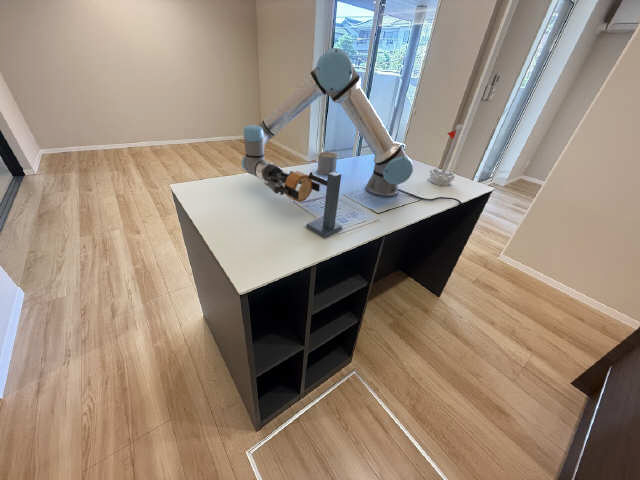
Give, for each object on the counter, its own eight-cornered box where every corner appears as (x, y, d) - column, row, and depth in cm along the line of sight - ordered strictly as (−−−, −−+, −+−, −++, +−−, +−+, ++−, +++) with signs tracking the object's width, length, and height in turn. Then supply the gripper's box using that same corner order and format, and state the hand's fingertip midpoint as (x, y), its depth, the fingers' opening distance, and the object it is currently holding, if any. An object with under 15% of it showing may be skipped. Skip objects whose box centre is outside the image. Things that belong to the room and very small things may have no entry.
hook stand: (324, 238, 85) (331, 179, 73) (299, 222, 92) (301, 167, 80) (341, 229, 91) (349, 173, 79) (315, 215, 98) (320, 162, 86)
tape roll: (303, 193, 99) (304, 169, 93) (311, 197, 96) (313, 172, 91) (284, 200, 92) (284, 174, 87) (292, 205, 90) (292, 178, 84)
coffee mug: (326, 176, 133) (328, 158, 128) (313, 171, 139) (315, 153, 133) (342, 172, 142) (345, 154, 136) (330, 167, 147) (332, 149, 141)
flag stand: (456, 183, 141) (479, 126, 124) (443, 188, 134) (466, 128, 117) (435, 176, 149) (454, 121, 132) (422, 179, 142) (441, 122, 125)
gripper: (290, 176, 110) (328, 193, 98) (246, 188, 95) (284, 210, 84) (291, 159, 106) (330, 175, 94) (244, 169, 91) (284, 189, 80)
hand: (308, 191), depth 89 cm, fingers closed on tape roll, 10 cm apart
